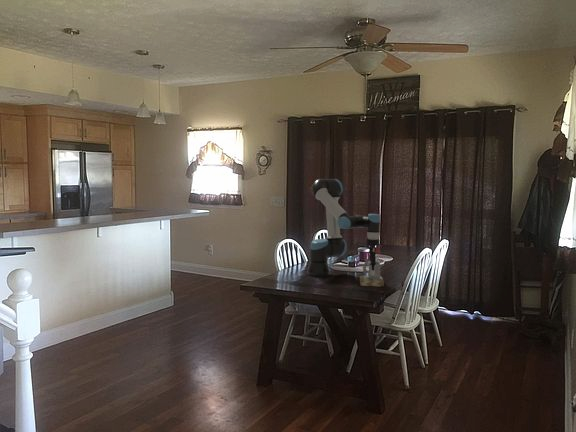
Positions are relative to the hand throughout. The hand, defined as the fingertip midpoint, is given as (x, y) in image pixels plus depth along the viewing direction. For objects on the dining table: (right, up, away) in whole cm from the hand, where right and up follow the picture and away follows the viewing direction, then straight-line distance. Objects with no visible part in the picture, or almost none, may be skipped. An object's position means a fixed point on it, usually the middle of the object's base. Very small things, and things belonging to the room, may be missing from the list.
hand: (371, 273), depth 300 cm
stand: (0, -7, +1) cm, 7 cm away
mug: (0, -3, +2) cm, 4 cm away
